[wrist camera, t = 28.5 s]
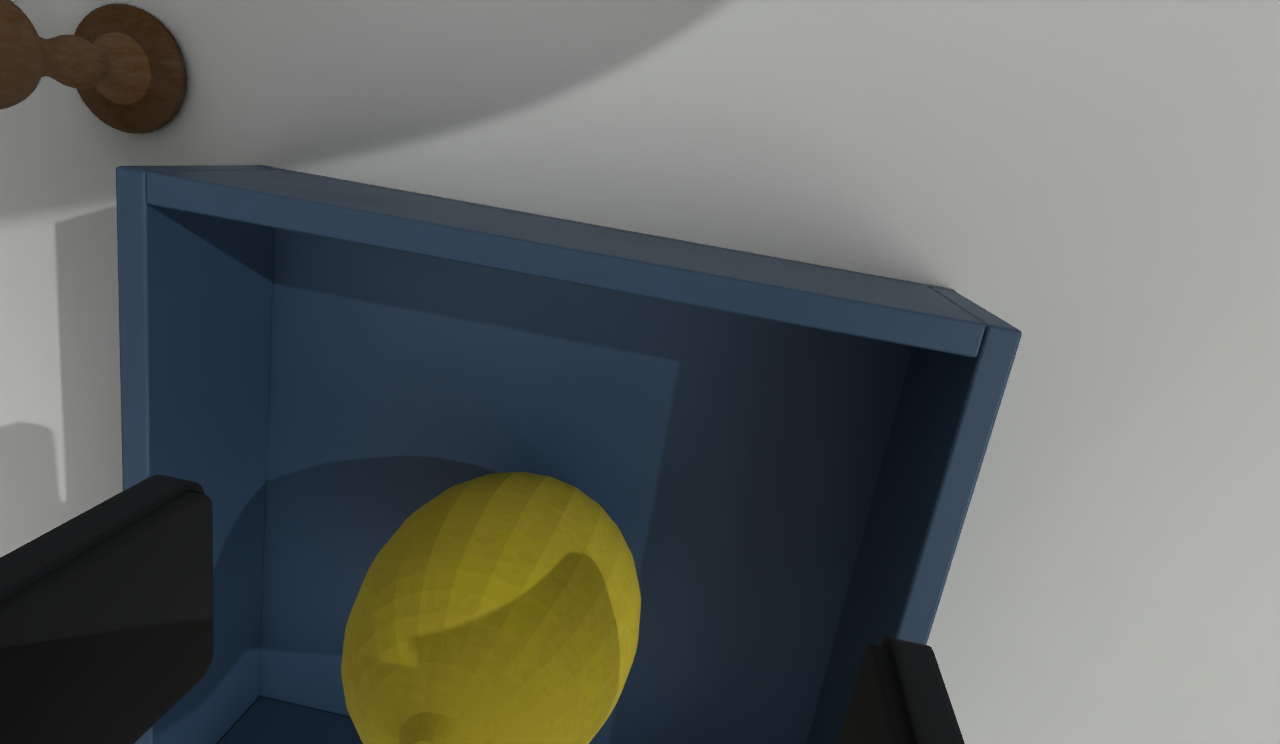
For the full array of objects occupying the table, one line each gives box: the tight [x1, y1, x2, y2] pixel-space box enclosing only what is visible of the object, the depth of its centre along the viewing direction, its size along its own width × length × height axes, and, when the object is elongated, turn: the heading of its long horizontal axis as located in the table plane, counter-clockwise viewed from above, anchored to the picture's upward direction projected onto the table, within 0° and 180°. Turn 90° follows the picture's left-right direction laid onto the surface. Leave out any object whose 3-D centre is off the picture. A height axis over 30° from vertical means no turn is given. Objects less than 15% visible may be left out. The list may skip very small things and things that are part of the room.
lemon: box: [341, 472, 641, 744], centre depth 16 cm, size 6×6×8 cm
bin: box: [116, 165, 1022, 744], centre depth 18 cm, size 16×15×4 cm
